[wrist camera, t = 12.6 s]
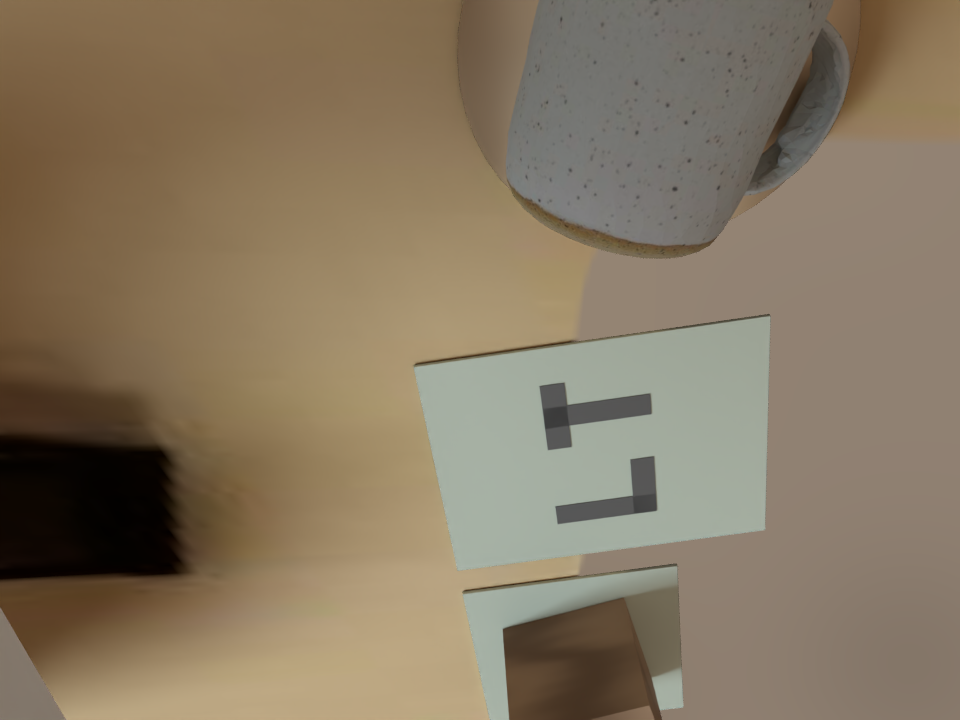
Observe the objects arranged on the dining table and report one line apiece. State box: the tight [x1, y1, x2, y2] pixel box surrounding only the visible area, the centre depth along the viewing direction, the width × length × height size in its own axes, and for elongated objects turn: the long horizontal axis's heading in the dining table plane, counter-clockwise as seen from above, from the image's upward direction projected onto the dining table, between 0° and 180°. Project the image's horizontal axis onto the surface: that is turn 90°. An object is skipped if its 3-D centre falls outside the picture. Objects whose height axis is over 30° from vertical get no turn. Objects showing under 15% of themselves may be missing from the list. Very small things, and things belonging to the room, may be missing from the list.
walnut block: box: [503, 598, 662, 720], centre depth 41 cm, size 6×6×6 cm
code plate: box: [414, 314, 771, 571], centre depth 37 cm, size 14×11×1 cm
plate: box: [463, 564, 683, 720], centre depth 43 cm, size 10×10×1 cm
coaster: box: [457, 0, 861, 220], centre depth 29 cm, size 13×13×1 cm
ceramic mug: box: [506, 0, 850, 259], centre depth 26 cm, size 11×8×8 cm
